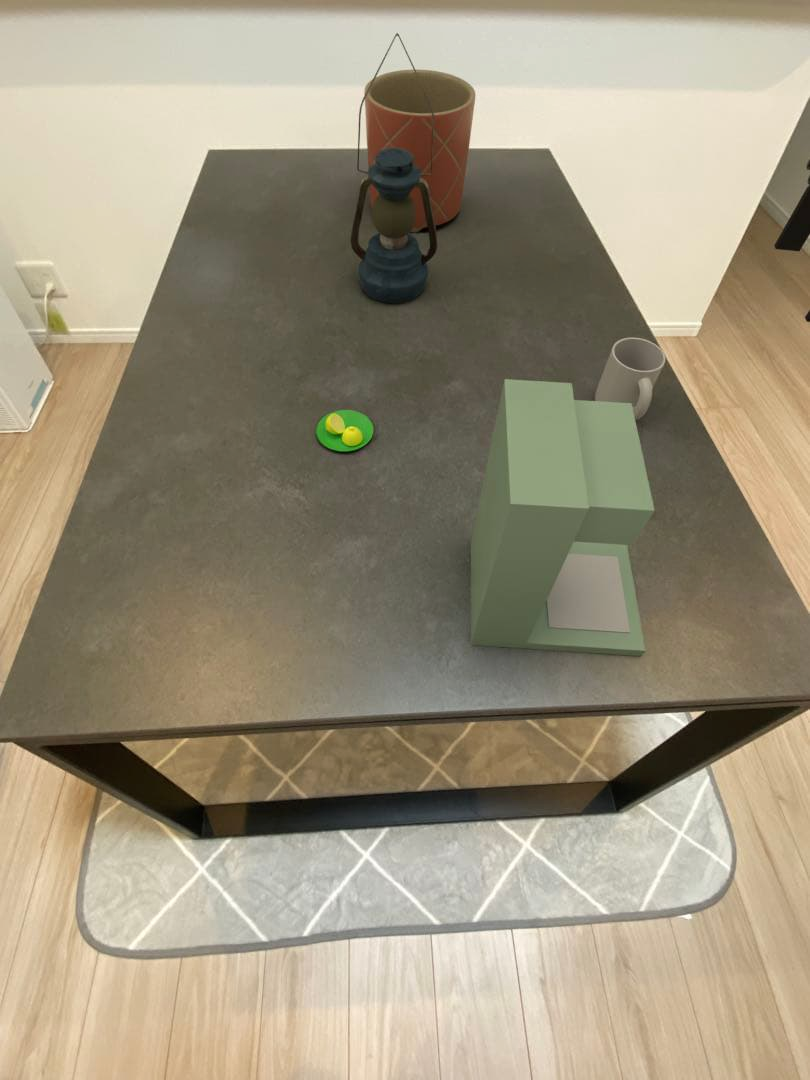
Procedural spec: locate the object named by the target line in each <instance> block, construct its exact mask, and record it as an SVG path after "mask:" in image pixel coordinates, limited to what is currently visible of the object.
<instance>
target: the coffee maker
mask: <svg viewBox="0 0 810 1080" xmlns="http://www.w3.org/2000/svg"><path fill="white" fill-rule="evenodd" d="M636 421H637V420H635V417H634V412H633V408H632V404H631V403H617V402H601V401H595V400H583V399H575V395H574V390H573V383H572V382H559V381H543V380H542V381H541V380H525V379H524V380H523V379H509V378H504V380H503V385H502V390H501V394H500V399H499V403H498V408H497V413H496V419H495V423H494V428H493V434H492V438H491V442H490V447H489V452H488V457H487V462H486V467H485V471H484V475H483V476H484V477H483V481H482V486H481V491H480V494H479V500H478V505H477V509H476V514H475V520H474V524H473V529H472V534H471V539H470V646H483V647H498V648H510V649H511V648H513V649H526V650H527V649H529V650H540V651H541V650H543V651H555V652H556V651H557V652H559V651H560V652H573V653H574V652H575V653H589V654H601V655H602V654H603V655H618V656H633V657H642V656H643V655H644V654H645V652H646V645H645V639H644V634H643V627H642V621H641V616H640V610H639V605H638V599H637V593H636V588H635V582H634V576H633V572H632V566H631V559H630V554H629V548H628V546H634V545H635V543H636V542H637V540H638V538H639V537H640V536H641V533H642V532H643V530H644V529H645V527H646V525H647V524H648V522H649V520H650V519H651V517H652V516H653V514H654V512H655V510H656V509H655V506H654V505H655V504H654V501H653V495H652V491H651V487H650V482H649V478H648V477H649V476H648V473H647V468H646V464H645V463H646V462H645V460H644V459H645V458H644V455H643V449H642V445H641V441H640V436H639V431H638V427H637V423H636Z"/></svg>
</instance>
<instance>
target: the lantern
mask: <svg viewBox="0 0 810 1080" xmlns="http://www.w3.org/2000/svg"><path fill="white" fill-rule="evenodd" d="M396 37H398V38H399V41H400V44H401V45H402V48H403V49H404V51H405V54H406V57H407V58H408V61H409V62H410V66H411V67H412V70H414V71H415V74H416V76H417V78H418V80H419V82H420V84H421V87H422V89H423V91H424V93H425V95H426V97H427V100H428V102H429V104H430V107H431V112H432V157H431V172H430V174H424V175H421V172H420V169H419V168H418V167H417V166H416V165H414V157H413V155H412V154H411V153H410V152H408V151H407V150H403V149H400V148H388V149H384V150H381V151H379V152H378V153H377V154H376V156H375V164H373V165H372V166H371V167H370V168H369V167H368V170H367V171H365V170H362V169H360V168H359V166H360V144H361V143H360V142H361V118H362V117H361V115H362V108H363V105H364V103H365V98H366V96H367V94H368V92H369V90H370V88H371V86H372V84H373V82H374V80H375V78H376V77H378V76H377V75H378V73H379V72H380V70H381V67H382V65H383V64H384V62H385V59H386V57H387V56H388V54H389V51H390V50H391V47H392V46H393V44H394V41H395V39H396ZM408 53H409V52H408V51H407V49H406V47H405V44H404V43H403V40H402V38H401V36H400V34H399V33H395V35H394V36H393V39H392V41H391V43H390V45H389V47H388V49H387V51H386V53H385V54H384V57H383V58H382V61H381V62H380V65H379V66H378V68H377V70H376V72H375V74H374V76H373V78H372V79H373V80H372V79H371V80H372V82H371V84H370V86H369V88H368V90H367V92H366V94H365V95H364V96H363V97H362V100H361V103H360V106H359V111H358V112H359V113H358V135H357V161H356V162H357V167H356V168H357V171H358V172H360V173H363V174H367V175H365V176H363V178H362V180H361V182H360V186H359V191H358V196H357V201H356V207H355V212H354V217H353V222H352V226H351V234H350V246H351V249H352V251H353V252H354V254H355V255H356V256H357V257H358V258H359V259H361V260H360V261H359V263H358V279H359V282H360V284H361V287H362V288H363V289H362V290H363V291H364V292H365V293H366V295H367V296H369V297H370V298H371V299H373V300H375V301H378V302H381V303H386V304H403V303H407V302H410V301H412V300H414V299H416V298H418V297H419V296H420V295H421V293H422V291H423V290H424V288H425V286H426V284H427V281H428V277H429V276H428V275H429V266H428V264H427V263H428V262H429V261H431V259H432V258H433V257H434V256H435V254H436V253H437V249H438V235H437V234H438V233H437V228H436V226H435V222H434V216H433V210H432V204H431V198H430V192H429V187H428V184H427V182H426V181H425V180H424V179H422V178H420V177H421V176H428V175H431V173H432V163H433V126H434V114H433V108H432V105H431V102H430V100H429V98H428V96H427V93H426V91H425V89H424V87H423V85H422V83H421V81H420V79H419V76H418V74H417V72H416V70H417V69H416V68H415V65H414V64H413V62H412V59H411V57H410V55H409V54H408ZM371 184H373V186H374V187H375V188H376V189H377V190H378V192H379V195H378V196H377V197H376V198H375V200H374V203H373V207H371V212H372V215H371V216H372V223H373V227H374V229H376V231H377V233H375V234H373V236H371V237H370V239H369V240H368V242H367V243H368V244H367V247H366V249H364V248H363V247H362V246H361V245H360V243H359V235H360V226H361V222H362V217H363V212H364V207H365V202H366V199H367V198H366V197H367V192H368V189H369V188H370V185H371ZM415 187H418V188H419V189H420V191H421V194H422V200H423V205H424V211H425V216H426V222H427V227H426V228H427V232H428V240H429V248H428V250H426V251H425V252H424V253H423V254H422V250H421V249H420V246H419V245H420V244H419V241H418V239H417V238H416V237H415V236H414V235H412V234H410V233H411V232H410V231H411V230H412V229H413V227H414V224H415V219H416V209H415V204H414V200H413V199H412V198H411V197H410V195H409V194H410V192H411V190H413V189H414V188H415Z"/></svg>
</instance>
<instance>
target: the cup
mask: <svg viewBox="0 0 810 1080" xmlns="http://www.w3.org/2000/svg"><path fill="white" fill-rule="evenodd" d="M665 363H666V354H665V352H664V351H663V350H662V349H661V347H660V346H658V345H657V344H656V343H654V342H653V341H650V340H647V339H644V338H639V337H625V338H622V339H619V340H617V341H616V342H615V343H614V344H613V345H612V348H611V351H610V353H609V356H608V359H607V361H606V363H605V367H604V369H603V372H602V374H601V377H600V380H599V383H598V385H597V387H596V389H595V390H596V391H595V393H594V401H601V402H617V403H631V404H632V408H633V412H634V417H635V421H638V420H639V419H641V418H643V417H644V416H645V415H646V413H647V411H648V409H649V408H650V404H651V403H652V397H653V389H654V386H655V384H656V382H657V380H658V378H659V376H660V373H661V372H662V370H663V368H664V365H665Z"/></svg>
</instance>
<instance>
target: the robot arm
mask: <svg viewBox="0 0 810 1080" xmlns="http://www.w3.org/2000/svg"><path fill="white" fill-rule="evenodd" d="M806 170H807V171H810V158H809V160H808V161H807V163H806ZM809 236H810V174H809V175H808V177H807V187H806V188H805V191H804V192H803V194H802V195H801V197H800V199H799V201H798V203H797V204H796V206H795V207H794V210H793V211H792V213H791V215H790V217H789V218H788V220H787V222H786V224H785V226H784V227H783V229H782V231H781V233H780V234H779V236H778V238H777V240H776V242H775V243H774V248H775V250H783V251H792V252H801V250H802V247H803V246H804V245H805V243H806V241H807V240H808V238H809ZM804 319H805V321H806V322H807V323H810V309H809V310H808V312H807V313H806V314H805V316H804Z"/></svg>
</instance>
